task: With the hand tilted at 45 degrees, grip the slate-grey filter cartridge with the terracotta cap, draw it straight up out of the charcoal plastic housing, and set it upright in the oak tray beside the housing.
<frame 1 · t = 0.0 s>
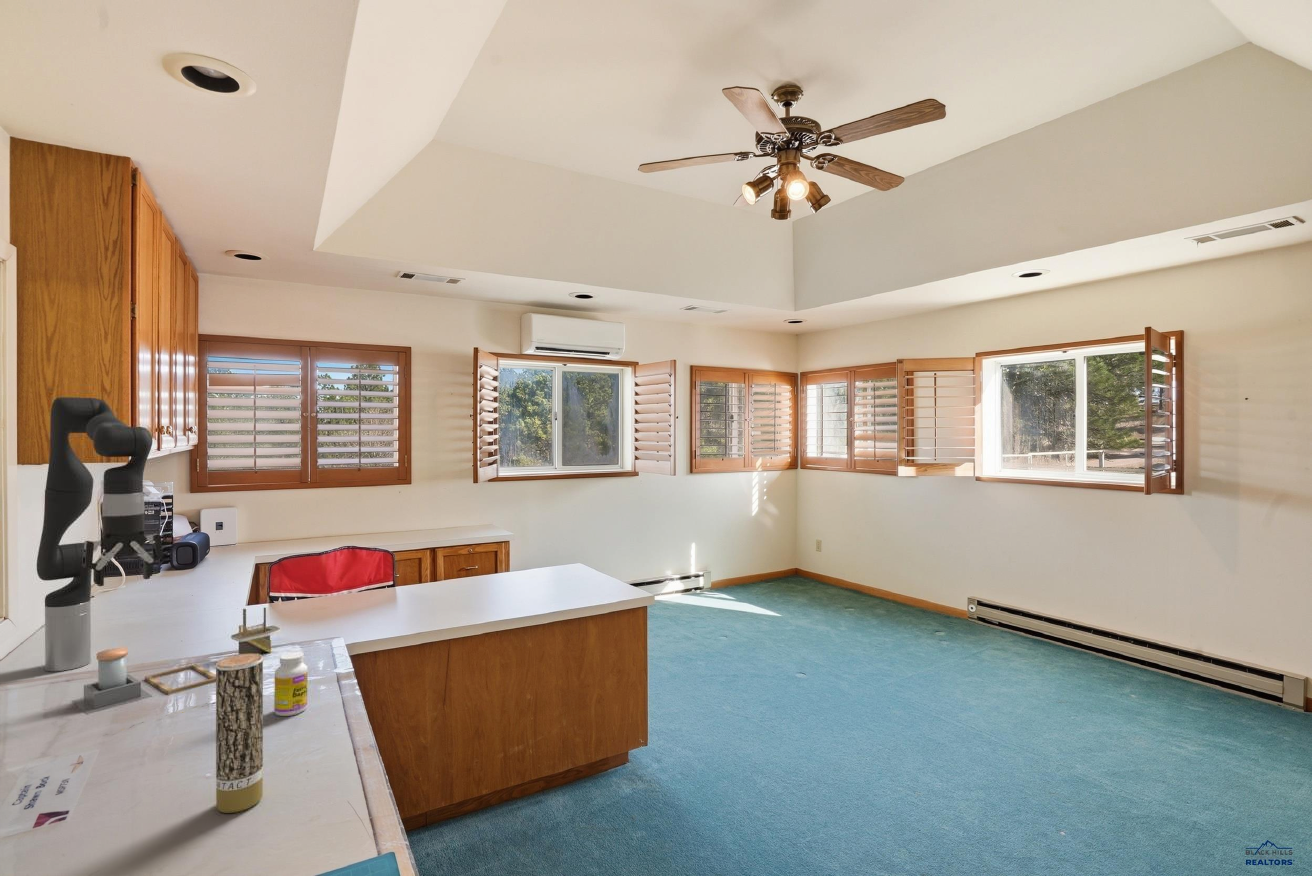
hand: (123, 582, 149), 29 cm above the worktop, tool pointing down, fingers open, 8 cm apart
paper tube: (239, 804, 111), on the worktop
housing: (112, 704, 150), on the worktop
architectural model: (256, 657, 184), on the worktop
supplement bottle: (291, 711, 148), on the worktop
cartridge: (112, 698, 150), point 1 cm above the worktop, touching housing
tray: (182, 685, 162), on the worktop
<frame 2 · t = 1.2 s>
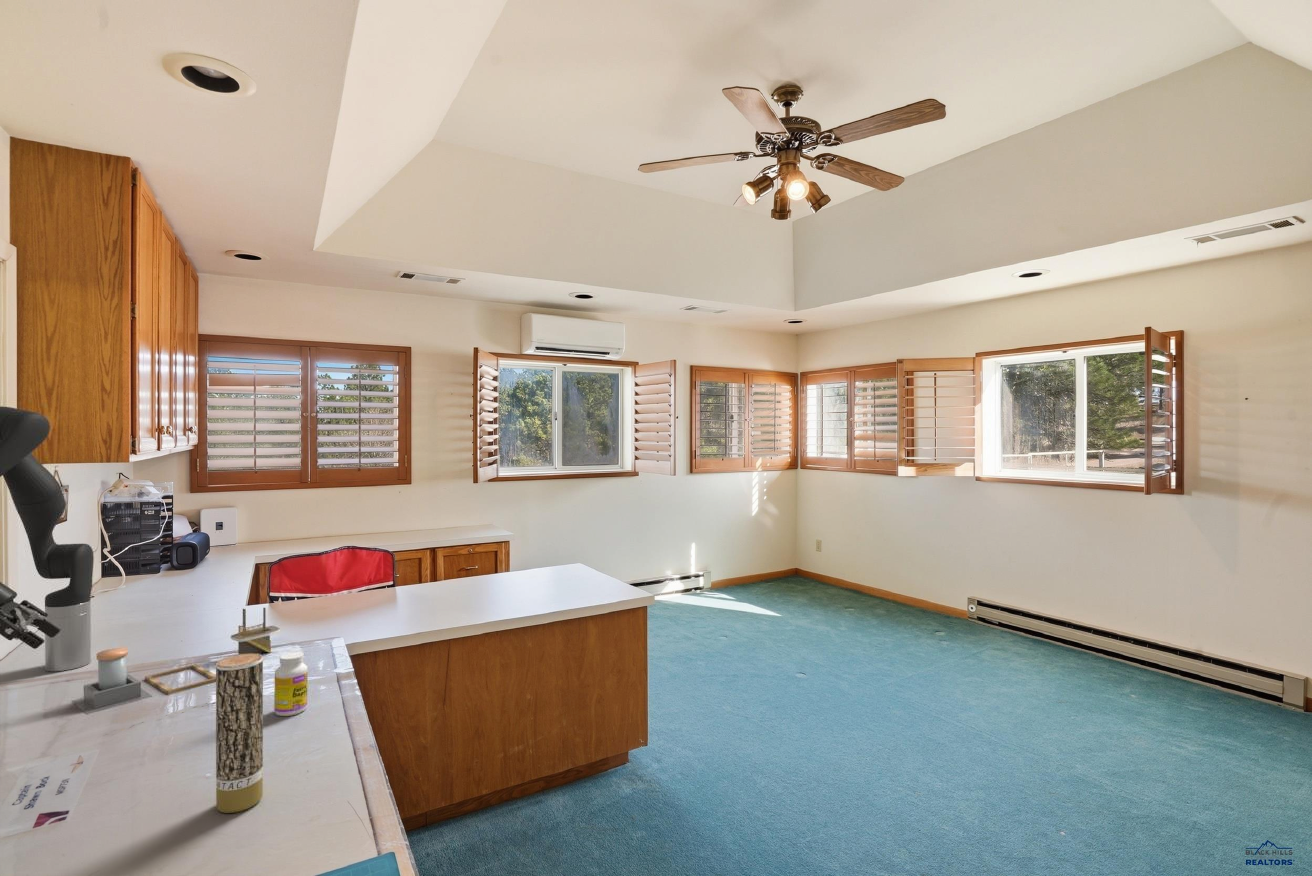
hand: (48, 639, 145), 17 cm above the worktop, tool tilted 45°, fingers open, 8 cm apart
nothing on the worktop moved.
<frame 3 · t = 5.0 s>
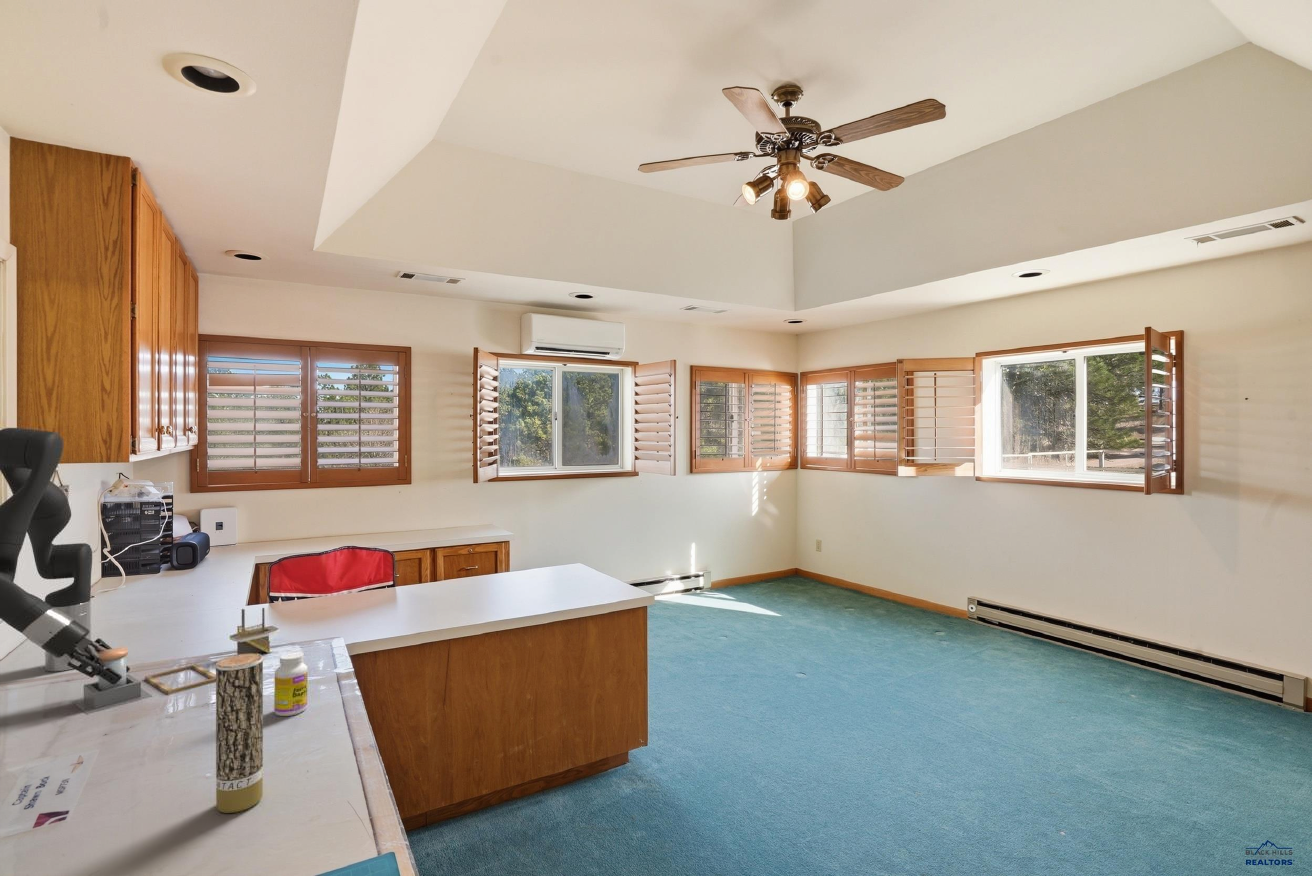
hand: (122, 676, 151), 6 cm above the worktop, tool tilted 45°, fingers closed on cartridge, 5 cm apart
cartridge: (112, 698, 150), point 2 cm above the worktop, touching gripper, housing
everything else where it was.
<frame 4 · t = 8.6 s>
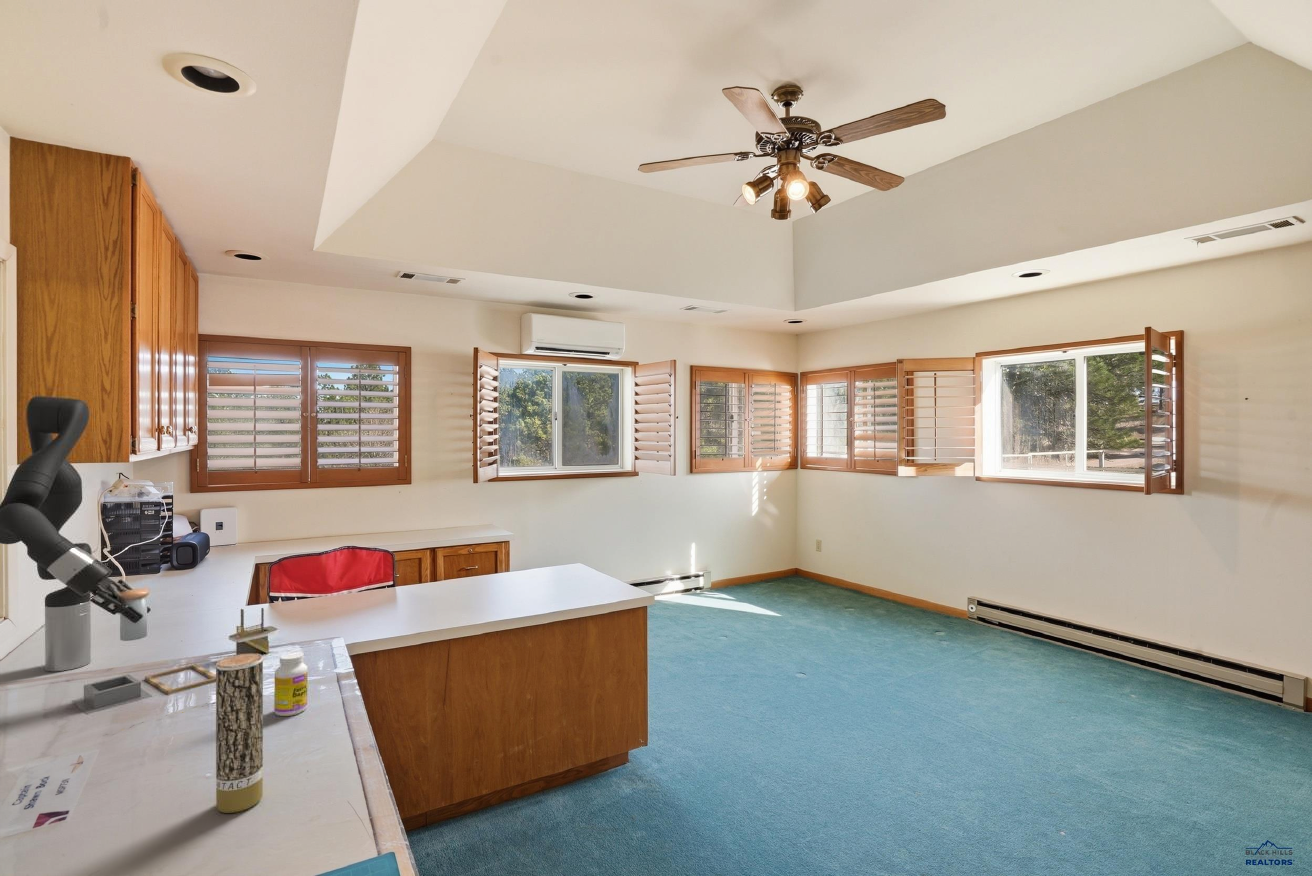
hand: (143, 616, 154), 20 cm above the worktop, tool tilted 45°, fingers closed on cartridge, 5 cm apart
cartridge: (133, 637, 154), point 15 cm above the worktop, touching gripper
everything else where it was.
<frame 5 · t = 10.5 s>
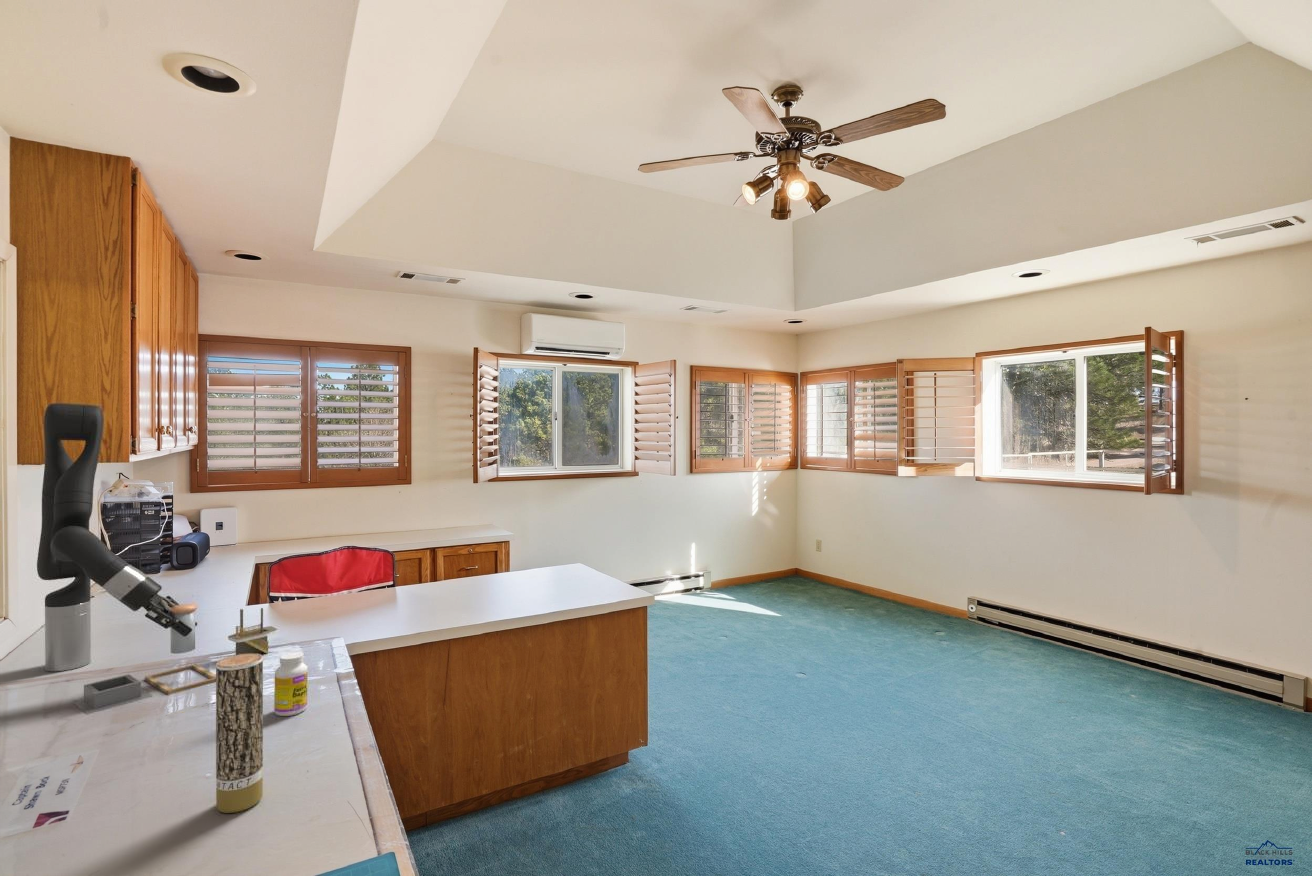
hand: (191, 630, 162), 14 cm above the worktop, tool tilted 45°, fingers closed on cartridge, 5 cm apart
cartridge: (183, 650, 162), point 9 cm above the worktop, touching gripper
everything else where it was.
when the fingers open (7 cm above the worktop, at t = 12.2 s): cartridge drops 1 cm, resting on tray.
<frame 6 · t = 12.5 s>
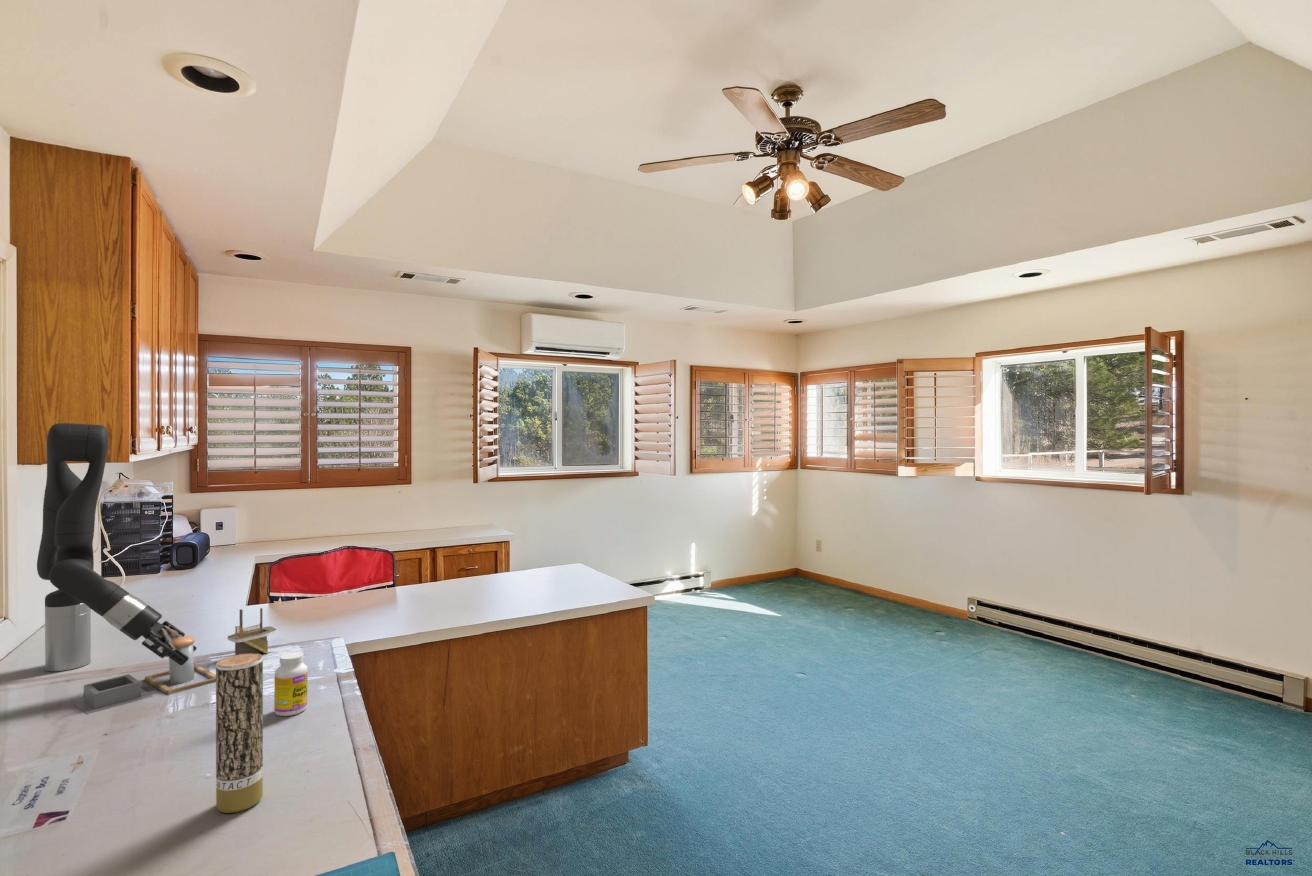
hand: (189, 656, 162), 7 cm above the worktop, tool tilted 45°, fingers open, 7 cm apart
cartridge: (182, 683, 162), point 1 cm above the worktop, touching tray
everything else where it was.
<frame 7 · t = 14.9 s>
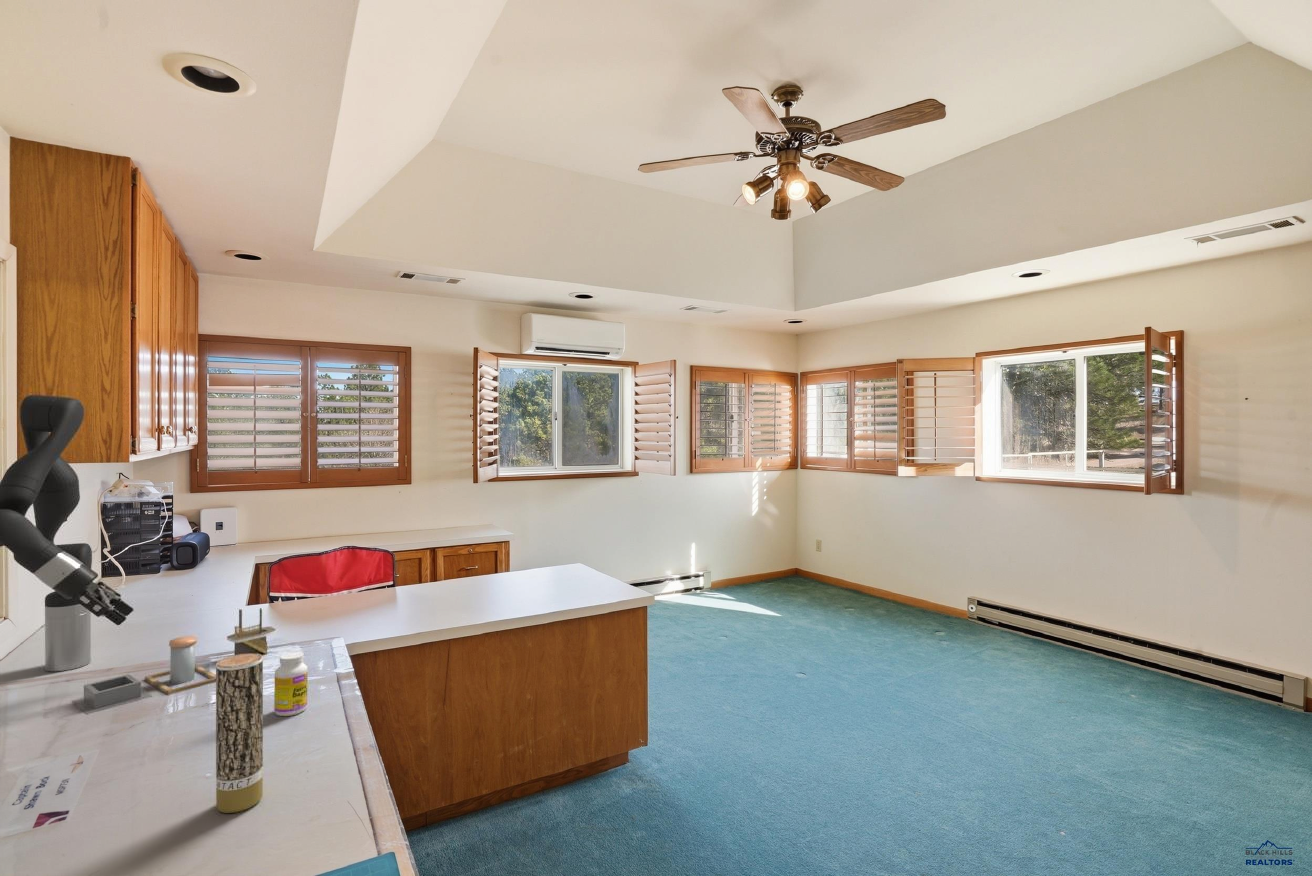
hand: (126, 617, 158), 18 cm above the worktop, tool tilted 45°, fingers open, 8 cm apart
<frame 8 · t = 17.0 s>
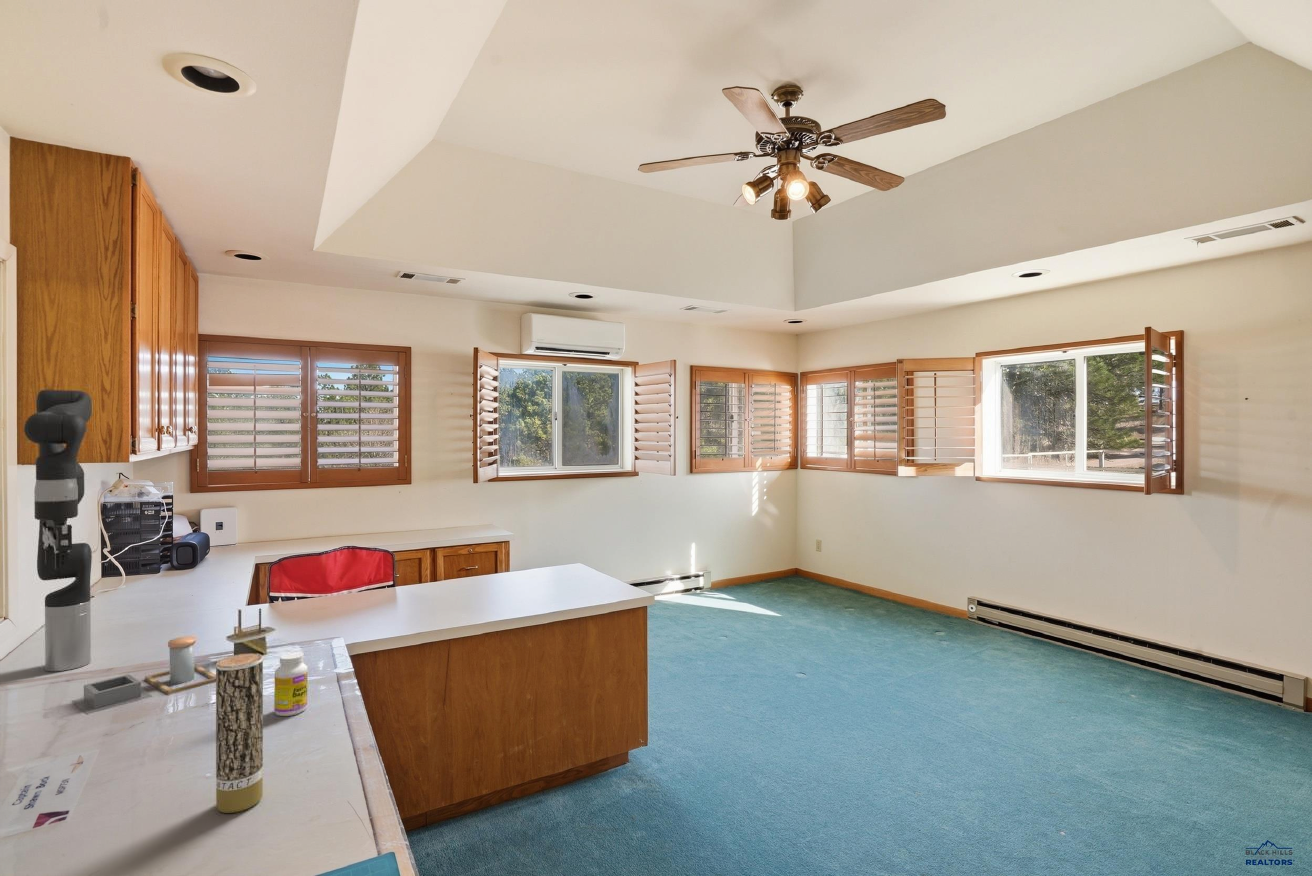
hand: (56, 566, 152), 32 cm above the worktop, tool pointing down, fingers open, 8 cm apart
at the end: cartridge inside the target area on the tray (0.1 cm from its centre), point 0.6 cm above the tray's base; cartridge tilted 1°; the gripper is holding nothing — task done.
